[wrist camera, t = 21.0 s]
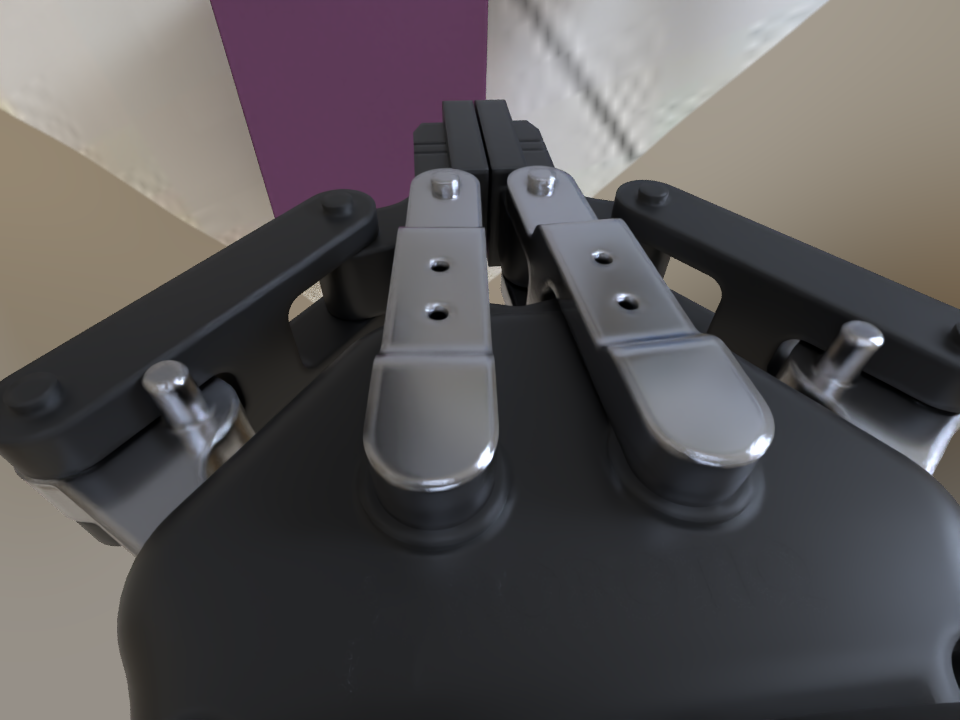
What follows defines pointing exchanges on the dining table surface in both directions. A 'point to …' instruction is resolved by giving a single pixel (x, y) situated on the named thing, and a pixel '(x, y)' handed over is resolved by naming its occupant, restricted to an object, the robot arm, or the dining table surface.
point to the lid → (348, 86)
